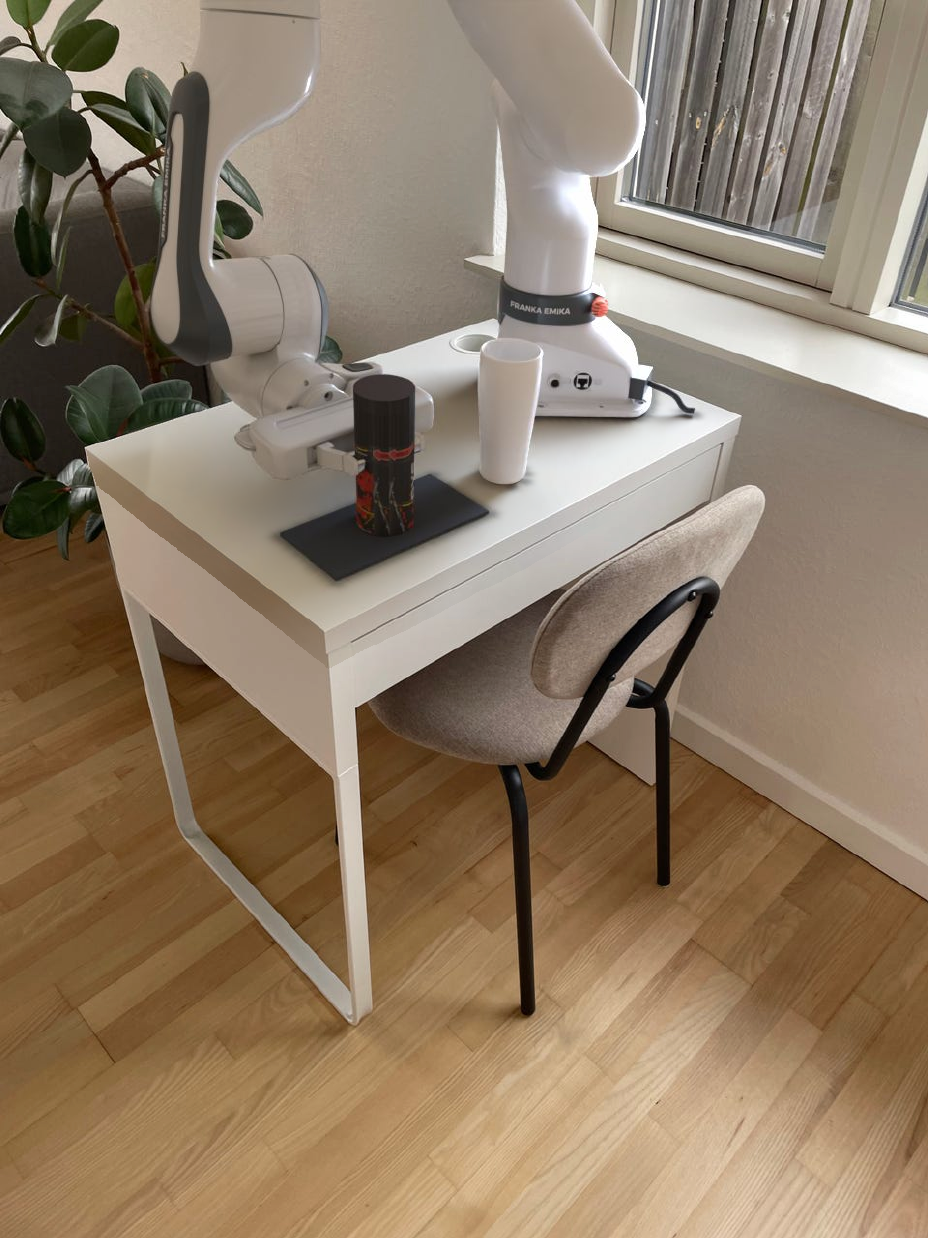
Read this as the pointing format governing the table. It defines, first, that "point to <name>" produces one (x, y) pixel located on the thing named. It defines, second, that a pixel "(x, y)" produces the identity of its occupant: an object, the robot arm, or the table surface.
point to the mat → (351, 549)
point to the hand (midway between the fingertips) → (390, 456)
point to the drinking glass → (507, 406)
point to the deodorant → (385, 453)
